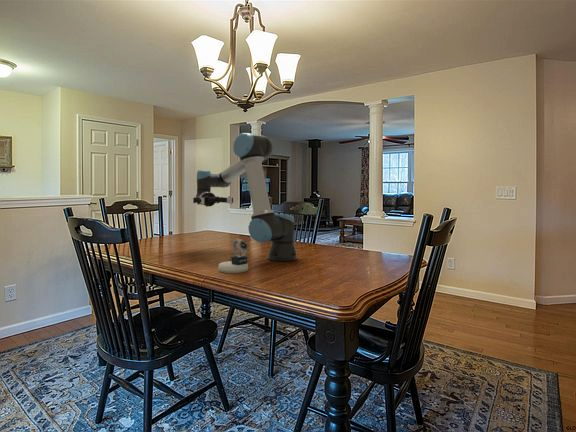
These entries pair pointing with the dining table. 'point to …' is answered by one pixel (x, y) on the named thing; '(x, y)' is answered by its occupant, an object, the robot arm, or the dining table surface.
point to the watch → (243, 247)
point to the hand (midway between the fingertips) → (217, 201)
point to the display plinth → (232, 267)
